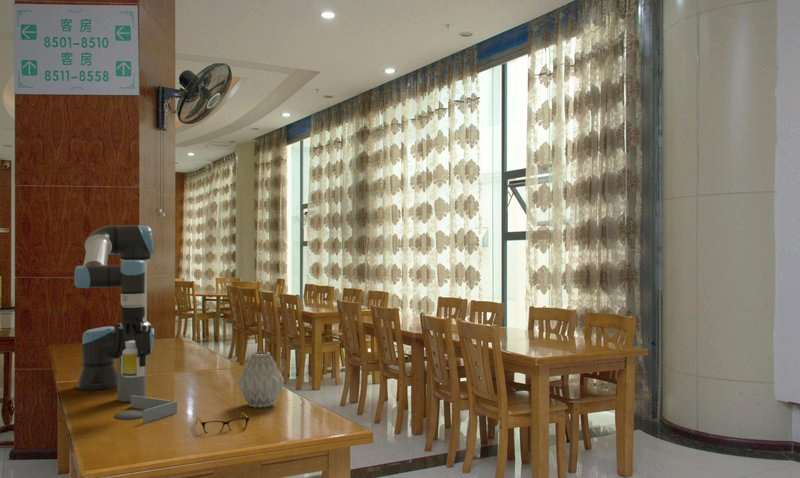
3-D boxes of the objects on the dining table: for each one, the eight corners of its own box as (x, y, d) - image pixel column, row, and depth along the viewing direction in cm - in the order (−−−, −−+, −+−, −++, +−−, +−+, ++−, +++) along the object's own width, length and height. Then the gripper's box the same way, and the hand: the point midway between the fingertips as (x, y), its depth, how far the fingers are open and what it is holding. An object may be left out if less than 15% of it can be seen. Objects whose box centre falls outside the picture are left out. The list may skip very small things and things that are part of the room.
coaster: (107, 417, 224) (107, 415, 224) (134, 409, 234) (134, 408, 234) (131, 421, 219) (131, 419, 219) (157, 413, 229) (157, 412, 229)
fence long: (130, 406, 237) (130, 395, 237) (132, 406, 238) (132, 395, 238) (170, 413, 229) (170, 401, 229) (172, 412, 230) (172, 400, 230)
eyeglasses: (202, 435, 204) (202, 422, 204) (196, 423, 217) (196, 411, 217) (249, 430, 210) (249, 417, 210) (241, 419, 223) (241, 406, 223)
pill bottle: (135, 378, 222) (135, 343, 222) (118, 377, 224) (118, 342, 224) (147, 374, 229) (147, 340, 229) (129, 374, 230) (129, 339, 230)
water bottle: (152, 397, 252) (152, 322, 252) (134, 403, 242) (134, 325, 242) (130, 395, 255) (130, 321, 255) (111, 401, 246) (111, 324, 246)
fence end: (142, 422, 217) (142, 410, 217) (175, 412, 229) (175, 401, 229) (144, 423, 216) (144, 410, 216) (177, 413, 229) (177, 401, 229)
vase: (244, 413, 229) (244, 358, 229) (232, 402, 243) (232, 351, 243) (290, 407, 236) (290, 354, 236) (276, 398, 251) (276, 348, 251)
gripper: (103, 305, 227) (103, 374, 227) (145, 308, 219) (145, 379, 218) (121, 304, 234) (121, 370, 234) (162, 306, 225) (162, 375, 225)
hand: (132, 375), depth 226 cm, fingers closed on pill bottle, 6 cm apart
